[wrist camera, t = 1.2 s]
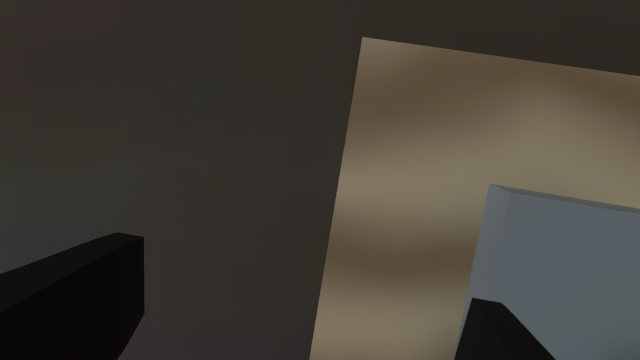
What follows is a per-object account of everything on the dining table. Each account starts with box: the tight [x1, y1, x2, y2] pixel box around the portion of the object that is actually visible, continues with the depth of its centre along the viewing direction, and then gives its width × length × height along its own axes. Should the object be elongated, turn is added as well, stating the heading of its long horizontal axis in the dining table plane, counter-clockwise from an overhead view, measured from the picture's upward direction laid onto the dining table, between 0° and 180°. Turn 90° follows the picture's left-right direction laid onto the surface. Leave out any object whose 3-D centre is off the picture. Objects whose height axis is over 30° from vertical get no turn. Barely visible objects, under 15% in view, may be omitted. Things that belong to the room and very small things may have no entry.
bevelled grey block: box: [454, 184, 640, 360], centre depth 18 cm, size 8×6×3 cm
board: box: [309, 37, 640, 360], centre depth 20 cm, size 18×22×1 cm
